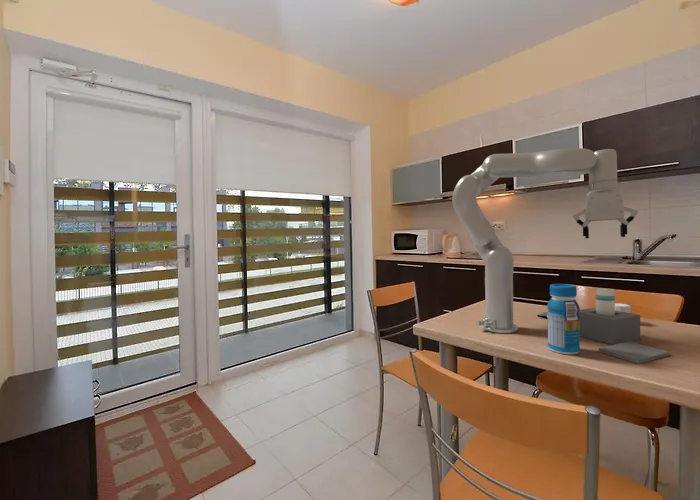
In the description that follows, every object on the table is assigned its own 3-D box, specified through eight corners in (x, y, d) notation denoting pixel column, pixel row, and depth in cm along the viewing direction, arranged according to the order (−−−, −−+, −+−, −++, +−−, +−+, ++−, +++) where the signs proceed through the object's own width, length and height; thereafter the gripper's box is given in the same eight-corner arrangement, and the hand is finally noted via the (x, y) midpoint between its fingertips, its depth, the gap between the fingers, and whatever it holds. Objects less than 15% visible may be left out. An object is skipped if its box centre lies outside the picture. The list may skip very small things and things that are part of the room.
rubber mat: (638, 363, 86) (638, 360, 86) (598, 351, 95) (598, 348, 95) (669, 355, 90) (669, 351, 90) (628, 344, 100) (628, 341, 100)
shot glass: (628, 321, 124) (628, 303, 123) (632, 326, 118) (632, 307, 118) (606, 319, 127) (606, 302, 127) (608, 323, 122) (608, 305, 121)
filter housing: (613, 345, 100) (614, 319, 99) (572, 333, 112) (572, 311, 112) (640, 339, 104) (640, 314, 104) (597, 328, 116) (597, 306, 116)
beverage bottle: (544, 351, 97) (544, 286, 96) (549, 343, 103) (548, 282, 102) (579, 357, 91) (578, 288, 90) (581, 348, 98) (581, 284, 97)
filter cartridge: (608, 333, 105) (608, 291, 104) (592, 329, 109) (592, 289, 109) (618, 331, 106) (618, 289, 106) (602, 327, 111) (602, 287, 111)
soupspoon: (550, 317, 137) (534, 318, 138) (550, 309, 137) (534, 310, 138) (582, 331, 115) (563, 332, 116) (582, 321, 115) (563, 322, 116)
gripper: (572, 189, 109) (574, 239, 110) (639, 182, 100) (640, 236, 101) (571, 191, 116) (573, 238, 117) (634, 185, 107) (635, 236, 107)
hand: (604, 237), depth 109 cm, fingers open, 9 cm apart
